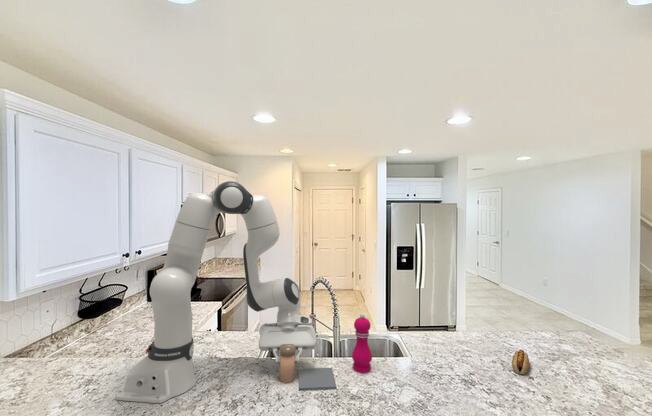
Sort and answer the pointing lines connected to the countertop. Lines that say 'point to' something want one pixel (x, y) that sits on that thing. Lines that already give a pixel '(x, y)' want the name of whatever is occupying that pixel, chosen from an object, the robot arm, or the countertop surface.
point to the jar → (287, 363)
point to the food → (520, 362)
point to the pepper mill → (362, 346)
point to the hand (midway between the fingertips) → (287, 362)
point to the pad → (316, 379)
